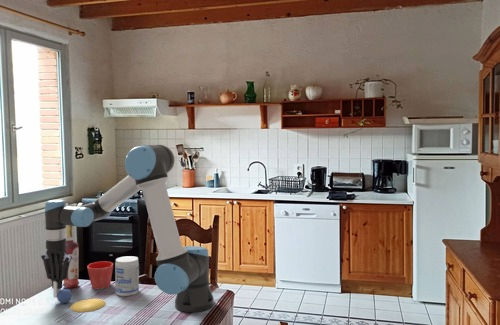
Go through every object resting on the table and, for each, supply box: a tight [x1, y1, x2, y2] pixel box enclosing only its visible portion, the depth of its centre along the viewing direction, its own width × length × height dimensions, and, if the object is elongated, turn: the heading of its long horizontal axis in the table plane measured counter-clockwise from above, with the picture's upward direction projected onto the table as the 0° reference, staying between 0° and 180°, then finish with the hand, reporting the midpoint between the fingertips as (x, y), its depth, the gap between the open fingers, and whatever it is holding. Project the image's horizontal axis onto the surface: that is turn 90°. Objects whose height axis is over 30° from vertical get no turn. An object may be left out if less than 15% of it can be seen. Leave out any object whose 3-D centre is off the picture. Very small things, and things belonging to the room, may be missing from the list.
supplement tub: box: [114, 255, 140, 297], centre depth 186 cm, size 10×10×15 cm
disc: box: [70, 298, 107, 313], centre depth 173 cm, size 13×13×1 cm
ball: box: [56, 288, 73, 304], centre depth 176 cm, size 6×6×6 cm
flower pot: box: [86, 260, 114, 290], centre depth 195 cm, size 11×11×10 cm
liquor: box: [62, 225, 80, 290], centre depth 194 cm, size 7×7×28 cm
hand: (57, 296), depth 177 cm, fingers closed
